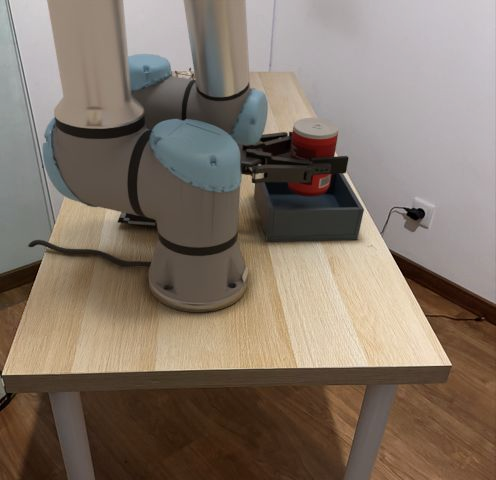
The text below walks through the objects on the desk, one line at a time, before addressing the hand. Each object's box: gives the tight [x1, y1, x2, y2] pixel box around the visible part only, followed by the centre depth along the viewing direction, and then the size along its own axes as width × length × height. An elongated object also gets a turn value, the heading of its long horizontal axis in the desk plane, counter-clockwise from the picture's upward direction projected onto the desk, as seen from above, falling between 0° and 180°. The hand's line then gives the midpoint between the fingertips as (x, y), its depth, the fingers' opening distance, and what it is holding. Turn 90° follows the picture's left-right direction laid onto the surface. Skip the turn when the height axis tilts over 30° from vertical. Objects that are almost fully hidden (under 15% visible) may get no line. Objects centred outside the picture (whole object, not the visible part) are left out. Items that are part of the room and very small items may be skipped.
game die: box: [174, 67, 195, 80], centre depth 142 cm, size 9×8×10 cm
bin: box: [253, 173, 365, 243], centre depth 99 cm, size 17×17×6 cm
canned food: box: [288, 117, 339, 197], centre depth 93 cm, size 8×8×11 cm
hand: (337, 153), depth 94 cm, fingers closed on canned food, 8 cm apart
